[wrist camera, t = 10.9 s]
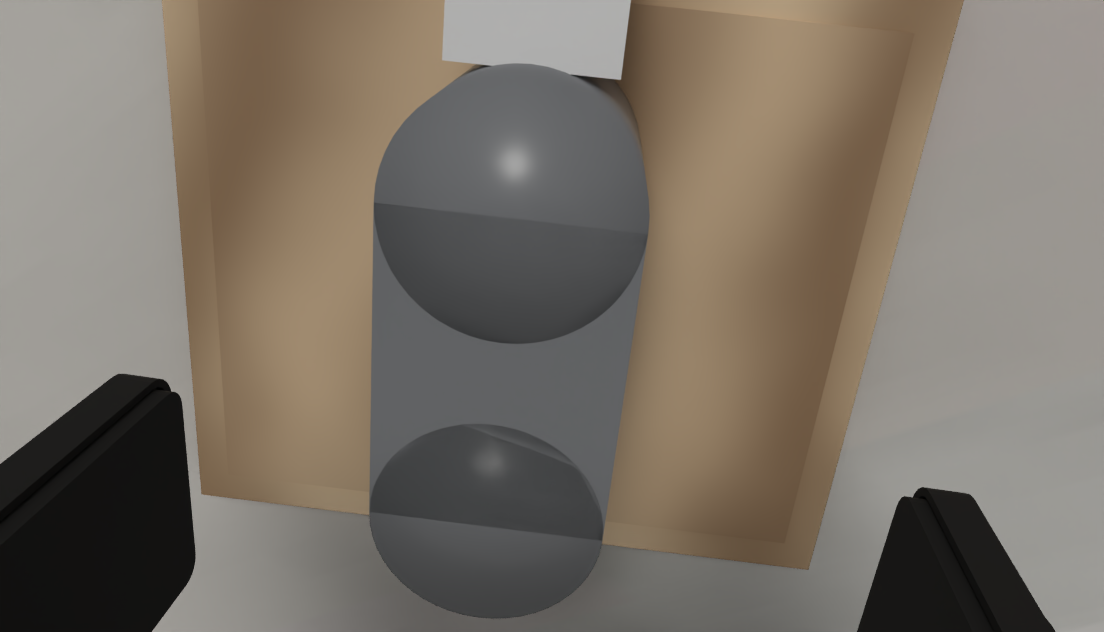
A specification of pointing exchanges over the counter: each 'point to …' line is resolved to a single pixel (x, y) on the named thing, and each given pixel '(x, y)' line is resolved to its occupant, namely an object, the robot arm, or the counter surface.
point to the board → (669, 266)
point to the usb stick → (506, 308)
